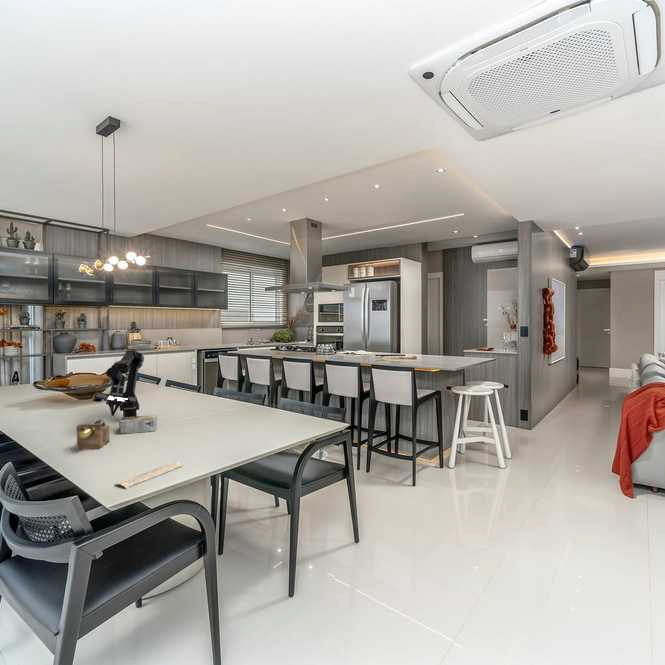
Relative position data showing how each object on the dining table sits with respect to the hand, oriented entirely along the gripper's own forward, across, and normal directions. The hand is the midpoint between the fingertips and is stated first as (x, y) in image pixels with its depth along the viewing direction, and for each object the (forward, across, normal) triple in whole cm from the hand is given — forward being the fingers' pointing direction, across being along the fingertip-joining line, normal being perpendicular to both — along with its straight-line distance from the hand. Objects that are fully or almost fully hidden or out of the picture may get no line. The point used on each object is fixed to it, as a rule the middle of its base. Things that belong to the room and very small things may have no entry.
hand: (112, 415), depth 196 cm
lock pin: (+14, +8, +14) cm, 21 cm away
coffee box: (+2, -20, +2) cm, 20 cm away
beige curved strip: (+40, -8, +55) cm, 69 cm away
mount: (+18, +6, +10) cm, 21 cm away
